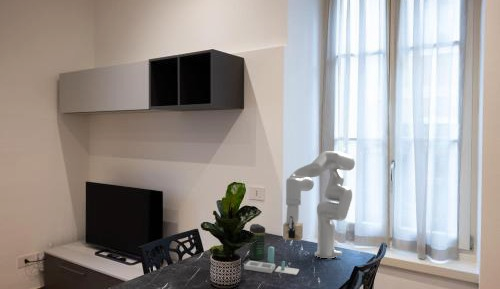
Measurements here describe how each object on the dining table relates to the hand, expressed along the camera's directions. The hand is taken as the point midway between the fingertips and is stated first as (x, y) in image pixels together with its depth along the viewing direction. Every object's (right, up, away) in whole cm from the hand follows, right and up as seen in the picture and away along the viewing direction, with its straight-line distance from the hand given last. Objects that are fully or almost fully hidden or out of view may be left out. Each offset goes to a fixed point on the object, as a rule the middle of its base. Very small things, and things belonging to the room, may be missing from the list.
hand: (292, 235), depth 181 cm
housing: (0, -1, 0) cm, 1 cm away
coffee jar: (-19, -17, +15) cm, 29 cm away
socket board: (-17, -16, -3) cm, 24 cm away
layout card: (-3, -17, -5) cm, 18 cm away
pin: (-11, -17, +5) cm, 21 cm away
